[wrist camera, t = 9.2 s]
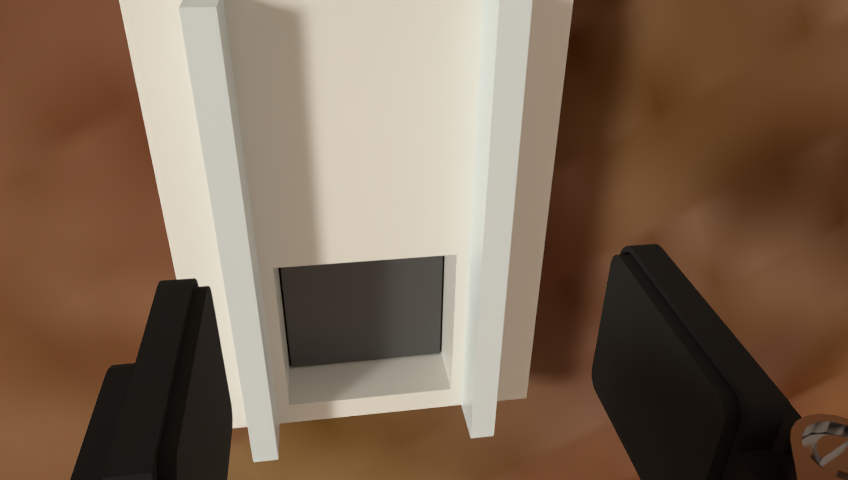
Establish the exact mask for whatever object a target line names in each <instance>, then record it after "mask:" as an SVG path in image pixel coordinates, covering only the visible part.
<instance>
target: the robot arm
mask: <svg viewBox="0 0 848 480" xmlns="http://www.w3.org/2000/svg"><path fill="white" fill-rule="evenodd" d="M592 381H593V386H594V389H595V391H596V393H597V395H598V397H599V399H600V401H601V403H602V405H603V407H604V409H605V411H606V413H607V415H608V416H609V418H610V420H611V422H612V424H613V426H614V428H615V430H616V432H617V434H618V436H619V438H620V440H621V442H622V444H623V446H624V448H625V450H626V452H627V454H628V455H629V457H630V459H631V461H632V463H633V465H634V467H635V469H636V471H637V473H638V475H639V477H640V479H641V480H848V419H846V418H843V417H839V416H836V415H826V414H815V415H808V416H805V417H803V418H802V417H801V416H800V415H799V414H798V413H797V411H796V410H795V409H794V408H793V406H792V405H791V404H790V402H789V401H788V399H787V398H786V397H785V396H784V395H783V393H782V392H781V391H780V390H779V389H778V387H777V386H776V385H775V384H774V383H773V381H772V380H771V379H770V378H769V377H768V375H767V374H766V373H765V372H764V371H763V369H762V368H761V367H760V366H759V365H758V363H757V362H756V361H755V360H754V358H753V357H752V356H751V355H750V354H749V352H748V351H747V350H746V349H745V348H744V346H743V345H742V344H741V343H740V342H739V340H738V339H737V338H736V337H735V336H734V334H733V333H732V332H731V331H730V330H729V328H728V327H727V326H726V325H725V324H724V322H723V321H722V320H721V319H720V317H719V316H718V315H717V314H716V313H715V311H714V310H713V309H712V308H711V307H710V305H709V304H708V303H707V302H706V301H705V299H704V298H703V297H702V296H701V295H700V293H699V292H698V291H697V290H696V289H695V287H694V286H693V285H692V284H691V283H690V281H689V280H688V279H687V278H686V276H685V275H684V274H683V273H682V272H681V270H680V269H679V268H678V267H677V266H676V264H675V263H674V262H673V261H672V260H671V258H670V257H669V256H668V255H667V254H666V252H665V251H664V250H663V249H662V248H661V247H660V246H659V245H657V244H649V245H635V246H626V247H624V248H623V249H622V251H621V254H620V255H615V256H614V257H613V258H612V261H611V265H610V271H609V277H608V282H607V288H606V293H605V299H604V305H603V310H602V316H601V321H600V327H599V333H598V338H597V344H596V349H595V355H594V361H593V366H592ZM232 421H233V419H232V406H231V400H230V394H229V388H228V383H227V377H226V371H225V366H224V360H223V354H222V349H221V343H220V337H219V332H218V326H217V320H216V315H215V309H214V304H213V298H212V293H211V289H210V287H209V286H202V287H199V286H198V282H197V280H196V279H195V278H192V279H178V280H165V281H160V282H159V284H158V286H157V289H156V293H155V296H154V300H153V303H152V307H151V310H150V314H149V317H148V321H147V324H146V328H145V331H144V335H143V338H142V342H141V345H140V349H139V352H138V355H137V359H136V362H135V363H133V364H122V365H112V366H111V367H110V368H109V369H108V371H107V373H106V375H105V378H104V381H103V384H102V387H101V390H100V393H99V396H98V399H97V402H96V405H95V408H94V411H93V414H92V417H91V420H90V423H89V426H88V429H87V432H86V435H85V438H84V441H83V444H82V447H81V450H80V453H79V456H78V458H77V461H76V464H75V467H74V470H73V473H72V476H71V479H70V480H227V475H228V465H229V455H230V445H231V436H232Z"/></svg>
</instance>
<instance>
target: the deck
mask: <svg viewBox="0 0 848 480" xmlns="http://www.w3.org/2000/svg"><path fill="white" fill-rule="evenodd" d="M119 3H120V7H121V12H122V17H123V22H124V27H125V32H126V37H127V41H128V46H129V51H130V56H131V61H132V66H133V70H134V75H135V80H136V85H137V90H138V95H139V100H140V104H141V109H142V114H143V119H144V124H145V129H146V134H147V138H148V143H149V148H150V153H151V158H152V163H153V168H154V172H155V177H156V182H157V187H158V192H159V197H160V201H161V206H162V211H163V216H164V221H165V226H166V231H167V235H168V240H169V245H170V250H171V255H172V260H173V265H174V269H175V274H176V279H177V280H178V279H192V278H195V279H196V280H197V282H198V286H199V287H202V286H209V287H210V289H211V293H212V298H213V304H214V309H215V315H216V320H217V326H218V332H219V337H220V343H221V349H222V354H223V360H224V366H225V371H226V377H227V383H228V388H229V394H230V400H231V406H232V419H233V421H232V428H240V427H248V432H249V438H250V445H251V451H252V457H253V462H260V461H269V460H278V458H279V423H289V422H298V421H308V420H318V419H327V418H337V417H347V416H356V415H366V414H376V413H386V412H395V411H405V410H415V409H424V408H434V407H444V406H453V405H462V409H463V412H464V416H465V420H466V423H467V427H468V431H469V434H470V438H478V437H488V436H494V427H495V416H496V405H497V401H502V400H511V399H521V398H526V397H527V388H528V380H529V371H530V363H531V355H532V346H533V338H534V329H535V321H536V312H537V304H538V295H539V287H540V279H541V270H542V262H543V253H544V245H545V236H546V228H547V219H548V211H549V203H550V194H551V186H552V177H553V169H554V160H555V152H556V144H557V135H558V127H559V118H560V110H561V101H562V93H563V84H564V76H565V68H566V59H567V51H568V42H569V34H570V25H571V17H572V8H573V0H119ZM443 256H444V279H443V311H442V342H441V352H440V332H441V300H442V267H443ZM278 268H281V277H282V286H283V295H284V304H285V313H286V322H287V331H288V340H289V349H290V357H291V366H290V365H289V357H288V348H287V339H286V330H285V322H284V313H283V304H282V295H281V287H280V278H279V269H278Z"/></svg>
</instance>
